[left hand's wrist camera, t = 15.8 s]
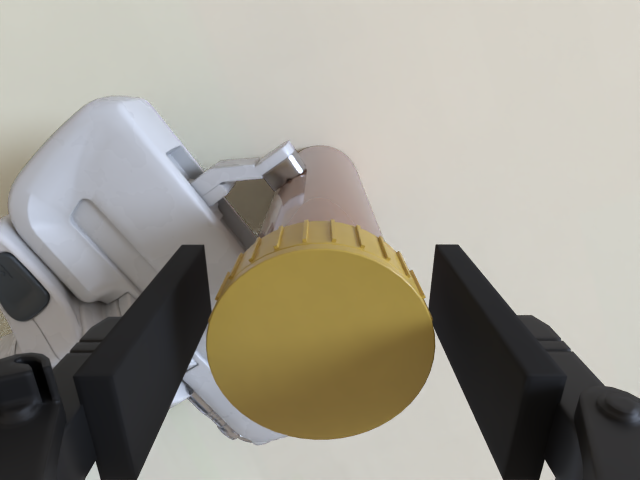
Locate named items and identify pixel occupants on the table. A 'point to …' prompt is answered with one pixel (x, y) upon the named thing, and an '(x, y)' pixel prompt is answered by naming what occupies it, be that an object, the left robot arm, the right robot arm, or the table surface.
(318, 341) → the lid
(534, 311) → the table surface
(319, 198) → the jar
